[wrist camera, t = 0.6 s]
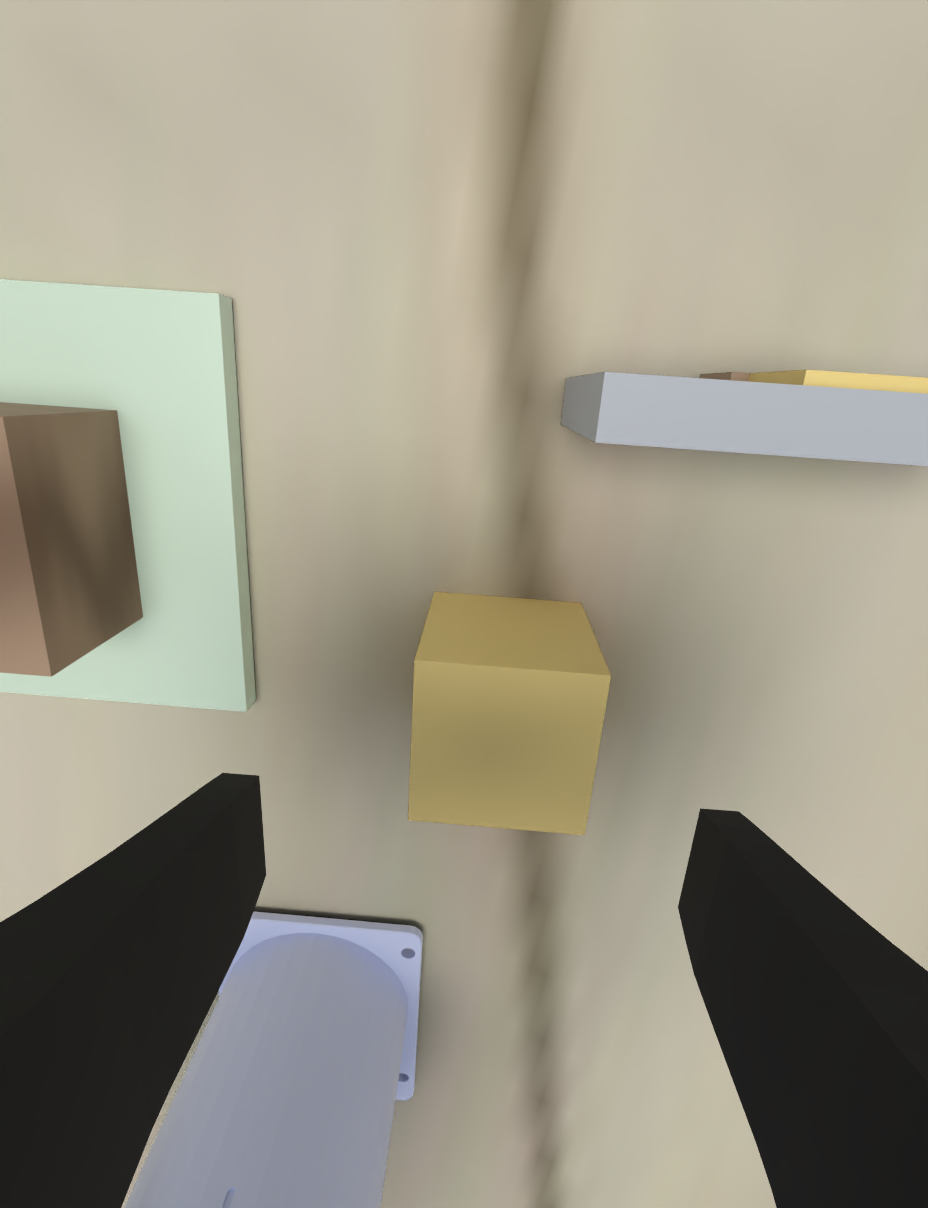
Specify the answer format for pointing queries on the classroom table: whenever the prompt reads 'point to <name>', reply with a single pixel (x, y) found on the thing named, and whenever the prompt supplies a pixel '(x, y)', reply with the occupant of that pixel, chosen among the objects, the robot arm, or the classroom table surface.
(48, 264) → the classroom table surface
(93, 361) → the build plate
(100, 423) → the base block
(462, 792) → the brick
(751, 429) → the tile
